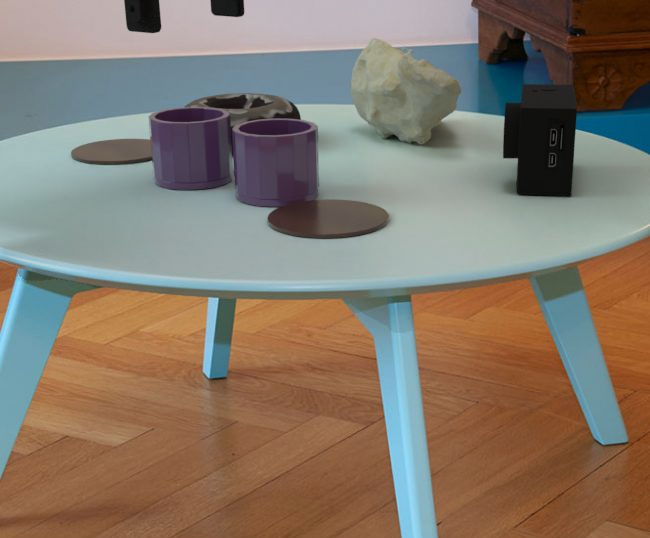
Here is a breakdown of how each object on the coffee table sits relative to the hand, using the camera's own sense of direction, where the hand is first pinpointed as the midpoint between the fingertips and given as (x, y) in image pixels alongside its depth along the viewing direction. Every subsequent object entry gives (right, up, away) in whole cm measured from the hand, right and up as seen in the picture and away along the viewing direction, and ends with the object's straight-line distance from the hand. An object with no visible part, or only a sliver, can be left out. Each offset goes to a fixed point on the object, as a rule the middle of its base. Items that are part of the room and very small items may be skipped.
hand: (187, 23), depth 91 cm
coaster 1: (-8, -8, +14) cm, 18 cm away
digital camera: (+29, -12, +3) cm, 31 cm away
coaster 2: (+11, -16, -7) cm, 21 cm away
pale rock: (+20, -7, +17) cm, 27 cm away
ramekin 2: (+7, -14, 0) cm, 16 cm away
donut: (+3, -7, +17) cm, 19 cm away
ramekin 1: (0, -12, +5) cm, 13 cm away
